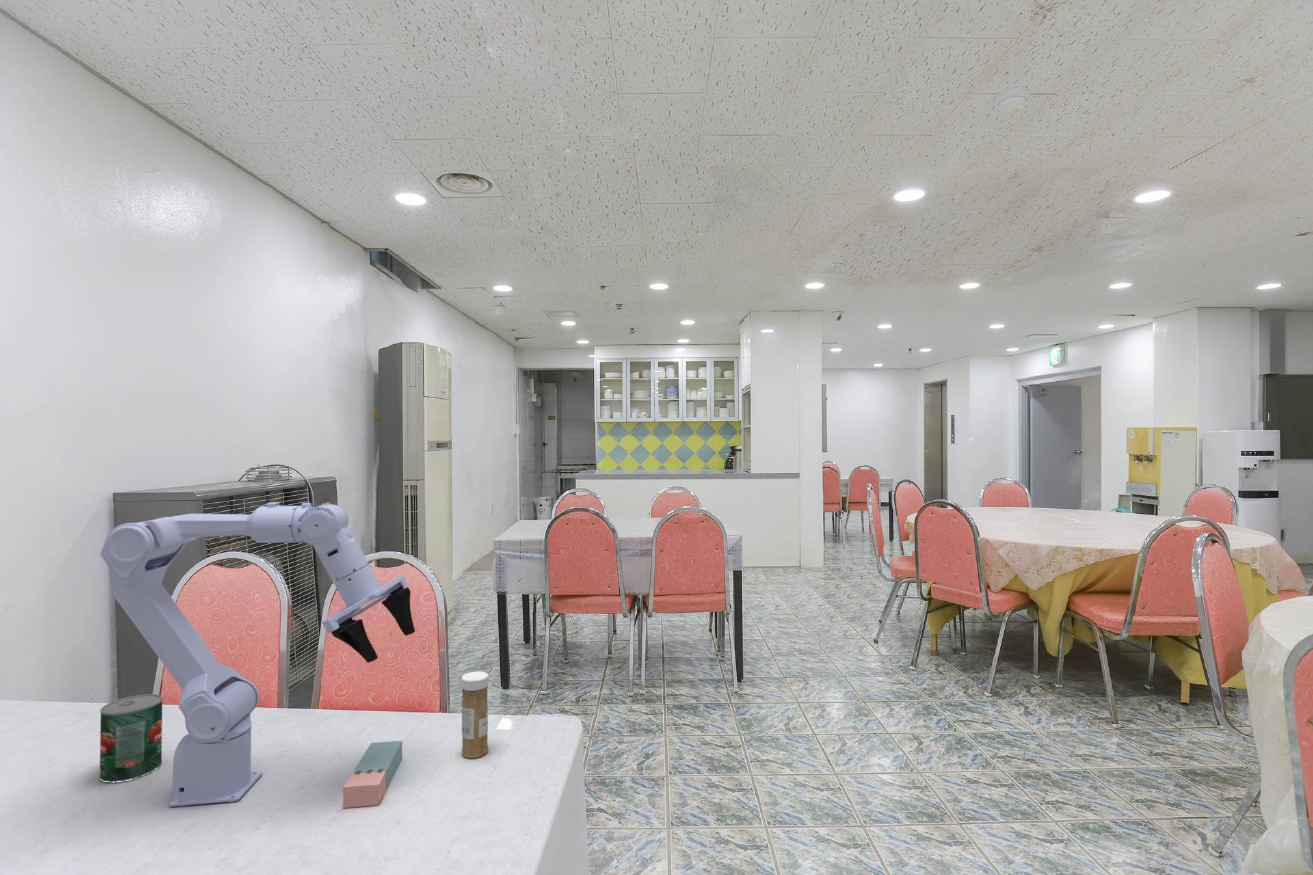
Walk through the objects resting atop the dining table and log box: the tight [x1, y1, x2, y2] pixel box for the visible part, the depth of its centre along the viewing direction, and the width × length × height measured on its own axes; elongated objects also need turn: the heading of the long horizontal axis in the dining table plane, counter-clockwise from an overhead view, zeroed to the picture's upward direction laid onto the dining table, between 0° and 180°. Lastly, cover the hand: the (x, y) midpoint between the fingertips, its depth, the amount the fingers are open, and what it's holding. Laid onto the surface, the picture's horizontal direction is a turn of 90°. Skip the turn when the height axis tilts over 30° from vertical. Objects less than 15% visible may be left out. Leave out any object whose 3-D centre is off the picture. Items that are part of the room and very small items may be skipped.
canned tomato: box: [99, 693, 164, 782], centre depth 103 cm, size 8×8×11 cm
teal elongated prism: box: [352, 740, 403, 791], centre depth 101 cm, size 5×10×3 cm, turn 9°
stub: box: [342, 771, 387, 809], centre depth 94 cm, size 5×4×3 cm
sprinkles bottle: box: [460, 671, 490, 759], centre depth 109 cm, size 5×5×14 cm
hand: (392, 646), depth 101 cm, fingers open, 7 cm apart
